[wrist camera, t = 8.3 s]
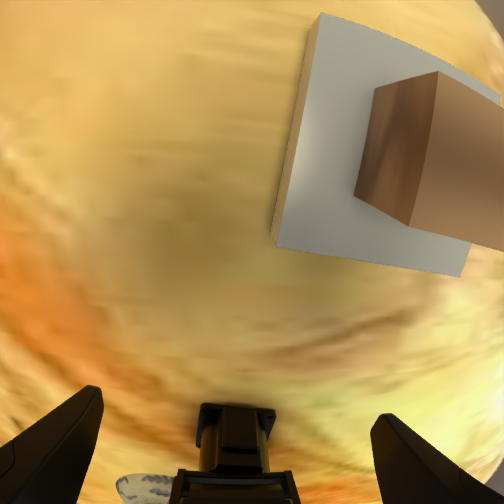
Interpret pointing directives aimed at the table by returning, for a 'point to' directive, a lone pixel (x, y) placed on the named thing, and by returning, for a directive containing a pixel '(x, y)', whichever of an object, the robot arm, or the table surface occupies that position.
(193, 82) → the table surface
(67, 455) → the robot arm
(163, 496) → the decorative bowl
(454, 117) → the cube
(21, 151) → the table surface
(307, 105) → the tile
